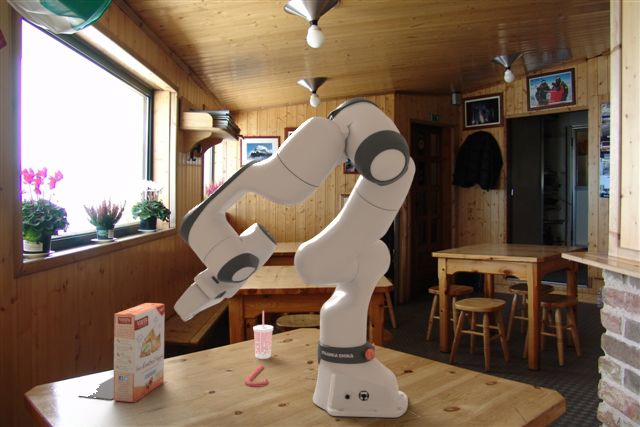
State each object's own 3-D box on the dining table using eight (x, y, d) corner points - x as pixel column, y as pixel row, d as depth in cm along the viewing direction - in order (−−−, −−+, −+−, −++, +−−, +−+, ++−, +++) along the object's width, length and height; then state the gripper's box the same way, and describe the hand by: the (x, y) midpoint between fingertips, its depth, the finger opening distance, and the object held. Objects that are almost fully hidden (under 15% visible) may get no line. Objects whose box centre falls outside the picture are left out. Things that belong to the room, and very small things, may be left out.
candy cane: (279, 370, 142) (279, 365, 142) (263, 389, 127) (264, 383, 127) (259, 369, 143) (259, 364, 143) (241, 387, 129) (241, 381, 129)
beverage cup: (275, 354, 155) (276, 309, 155) (269, 360, 149) (269, 313, 149) (257, 352, 157) (257, 308, 156) (250, 358, 151) (250, 312, 150)
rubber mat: (143, 381, 131) (143, 380, 131) (111, 400, 119) (111, 399, 119) (113, 378, 133) (113, 377, 133) (78, 396, 121) (78, 395, 121)
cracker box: (135, 404, 117) (135, 314, 116) (112, 401, 118) (112, 313, 117) (165, 382, 130) (165, 302, 130) (144, 381, 132) (144, 301, 131)
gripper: (231, 264, 129) (197, 300, 131) (194, 275, 109) (153, 317, 111) (248, 282, 128) (212, 318, 130) (213, 297, 108) (171, 339, 110)
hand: (185, 318), depth 120 cm, fingers closed
